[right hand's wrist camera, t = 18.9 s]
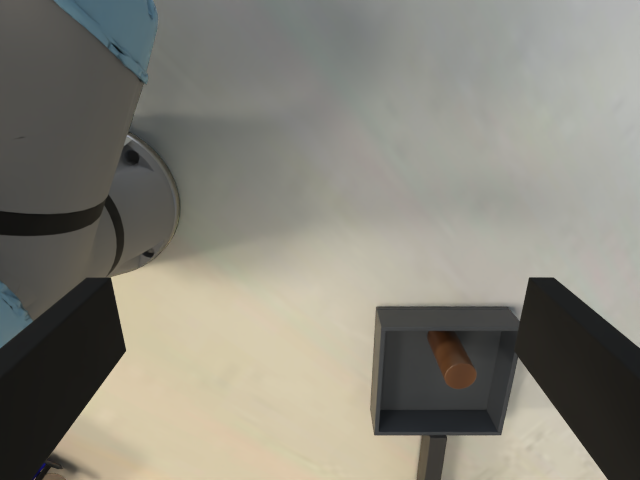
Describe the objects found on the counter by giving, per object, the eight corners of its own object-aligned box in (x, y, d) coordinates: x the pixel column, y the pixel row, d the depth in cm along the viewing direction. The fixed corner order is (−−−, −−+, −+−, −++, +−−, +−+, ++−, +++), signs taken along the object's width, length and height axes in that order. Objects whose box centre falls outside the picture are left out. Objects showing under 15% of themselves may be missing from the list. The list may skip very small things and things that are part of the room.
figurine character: (86, 454, 55) (-29, 410, 50) (58, 511, 49) (-77, 466, 44) (64, 481, 57) (-49, 441, 52) (34, 539, 50) (-98, 500, 45)
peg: (426, 347, 47) (443, 389, 40) (427, 323, 46) (445, 363, 39) (453, 346, 47) (475, 389, 40) (456, 323, 46) (478, 363, 39)
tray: (472, 486, 56) (485, 519, 52) (365, 486, 56) (369, 519, 52) (507, 306, 46) (526, 329, 41) (376, 306, 46) (381, 329, 41)
